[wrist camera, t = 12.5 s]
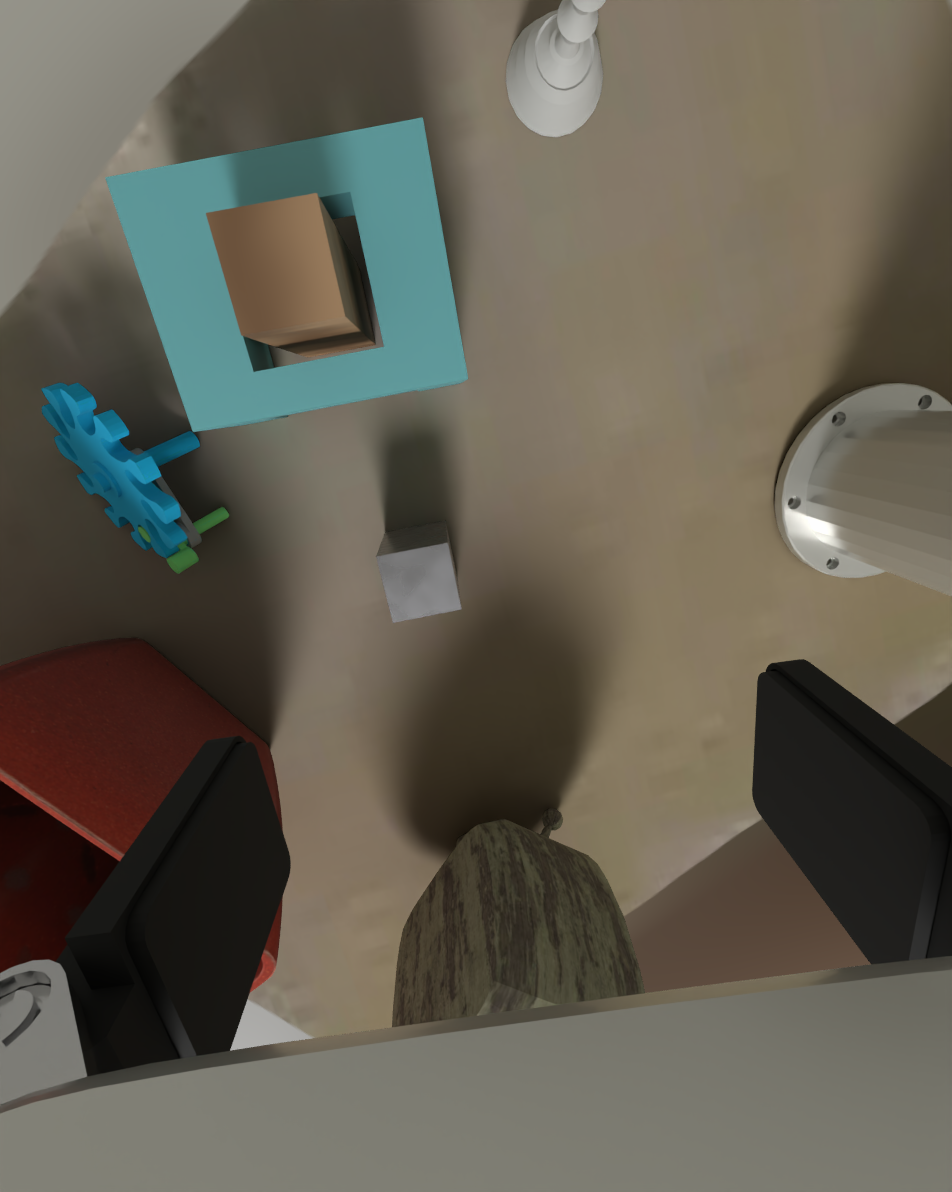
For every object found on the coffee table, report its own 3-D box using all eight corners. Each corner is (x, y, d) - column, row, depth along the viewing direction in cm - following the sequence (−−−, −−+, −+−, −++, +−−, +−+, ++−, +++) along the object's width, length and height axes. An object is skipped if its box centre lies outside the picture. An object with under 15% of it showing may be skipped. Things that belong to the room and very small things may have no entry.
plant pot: (342, 753, 41) (286, 973, 26) (166, 889, 44) (19, 1161, 29) (132, 566, 36) (-107, 699, 20) (-54, 736, 39) (-390, 971, 23)
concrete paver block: (445, 520, 36) (447, 542, 31) (457, 577, 38) (461, 609, 32) (385, 531, 36) (376, 556, 30) (398, 589, 37) (393, 622, 32)
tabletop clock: (488, 923, 48) (540, 1423, 25) (395, 888, 46) (356, 1397, 23) (581, 802, 45) (747, 1252, 21) (485, 757, 42) (550, 1201, 19)
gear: (10, 407, 31) (55, 370, 24) (113, 371, 34) (177, 330, 27) (136, 575, 36) (201, 583, 29) (214, 529, 39) (288, 526, 33)
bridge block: (425, 187, 30) (422, 117, 22) (460, 383, 33) (468, 378, 26) (187, 233, 30) (105, 177, 22) (247, 424, 33) (192, 432, 26)
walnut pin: (358, 267, 31) (316, 192, 20) (375, 345, 32) (345, 316, 21) (288, 280, 31) (205, 212, 20) (307, 357, 32) (241, 335, 21)
